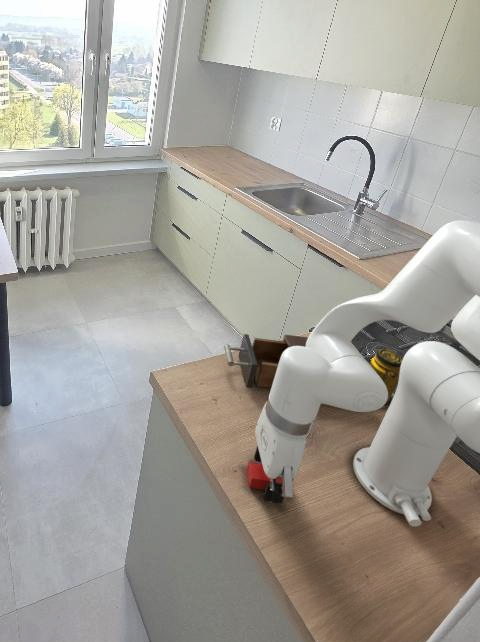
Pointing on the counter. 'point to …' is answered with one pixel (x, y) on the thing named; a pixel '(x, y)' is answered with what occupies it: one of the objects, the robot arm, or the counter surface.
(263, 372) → the drawer
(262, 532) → the counter surface
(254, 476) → the red rectangular block
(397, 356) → the condiment
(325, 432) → the counter surface
